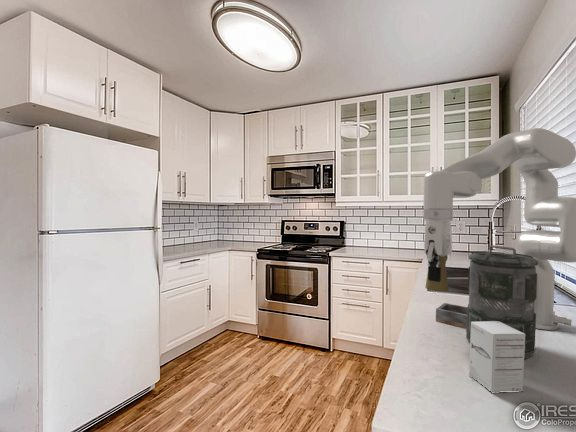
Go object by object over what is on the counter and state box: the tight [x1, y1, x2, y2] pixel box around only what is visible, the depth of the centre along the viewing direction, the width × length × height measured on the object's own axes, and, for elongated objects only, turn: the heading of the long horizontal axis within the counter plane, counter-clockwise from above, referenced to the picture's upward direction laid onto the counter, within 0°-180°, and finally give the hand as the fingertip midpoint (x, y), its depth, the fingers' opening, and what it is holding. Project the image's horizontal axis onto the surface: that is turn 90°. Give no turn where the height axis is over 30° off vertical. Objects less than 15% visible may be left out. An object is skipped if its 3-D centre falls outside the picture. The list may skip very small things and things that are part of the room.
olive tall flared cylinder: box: [424, 253, 449, 292], centre depth 91 cm, size 6×6×11 cm
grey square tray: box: [435, 302, 468, 329], centre depth 108 cm, size 10×10×4 cm
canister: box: [465, 244, 538, 359], centre depth 88 cm, size 16×16×28 cm
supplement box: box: [468, 321, 525, 393], centre depth 69 cm, size 7×7×13 cm
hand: (436, 278), depth 91 cm, fingers closed on olive tall flared cylinder, 3 cm apart
